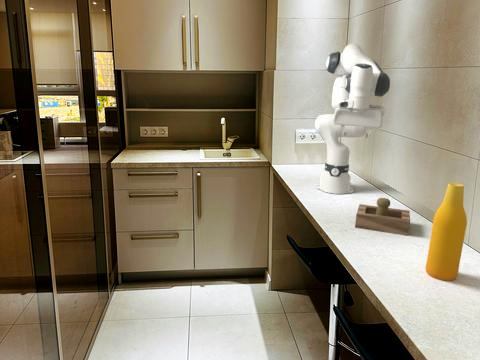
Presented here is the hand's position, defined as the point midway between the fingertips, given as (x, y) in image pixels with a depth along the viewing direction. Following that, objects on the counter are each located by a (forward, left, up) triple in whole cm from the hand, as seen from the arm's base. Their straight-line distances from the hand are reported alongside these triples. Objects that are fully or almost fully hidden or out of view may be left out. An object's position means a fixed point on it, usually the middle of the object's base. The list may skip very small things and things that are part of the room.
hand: (355, 136), depth 188 cm
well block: (+13, +15, -33) cm, 39 cm away
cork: (+13, +14, -33) cm, 38 cm away
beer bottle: (+52, +34, -33) cm, 70 cm away
